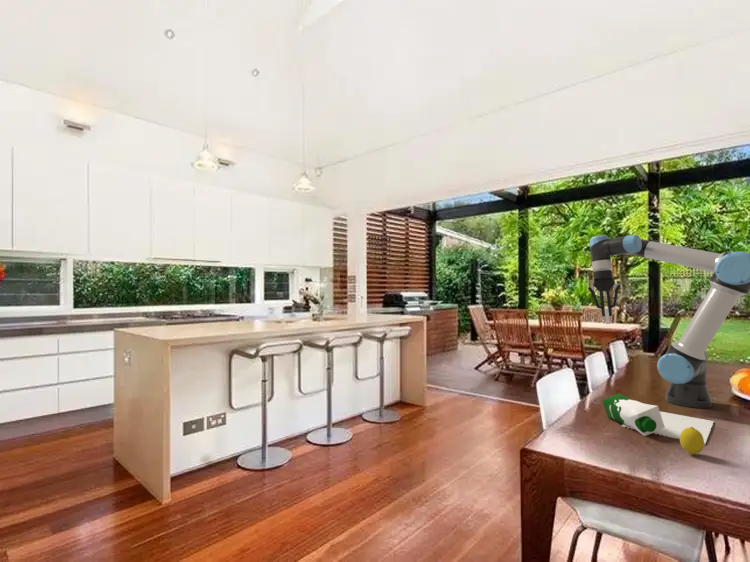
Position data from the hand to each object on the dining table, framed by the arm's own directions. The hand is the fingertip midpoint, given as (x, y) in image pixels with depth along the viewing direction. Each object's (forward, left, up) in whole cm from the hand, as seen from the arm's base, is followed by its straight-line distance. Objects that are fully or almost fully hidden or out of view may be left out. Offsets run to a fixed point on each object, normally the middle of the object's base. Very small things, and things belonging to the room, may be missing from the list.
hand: (608, 323), depth 182 cm
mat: (-26, +27, -31) cm, 49 cm away
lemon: (-35, +53, -32) cm, 71 cm away
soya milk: (-10, +32, -27) cm, 43 cm away
